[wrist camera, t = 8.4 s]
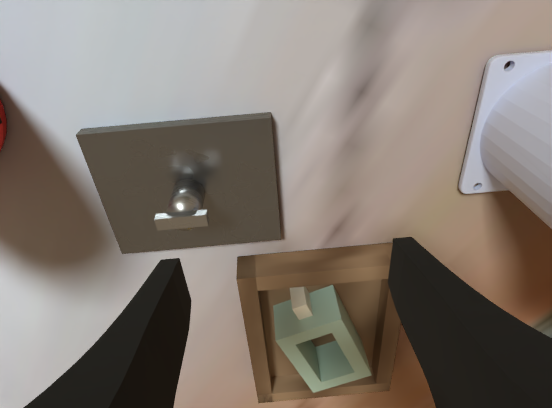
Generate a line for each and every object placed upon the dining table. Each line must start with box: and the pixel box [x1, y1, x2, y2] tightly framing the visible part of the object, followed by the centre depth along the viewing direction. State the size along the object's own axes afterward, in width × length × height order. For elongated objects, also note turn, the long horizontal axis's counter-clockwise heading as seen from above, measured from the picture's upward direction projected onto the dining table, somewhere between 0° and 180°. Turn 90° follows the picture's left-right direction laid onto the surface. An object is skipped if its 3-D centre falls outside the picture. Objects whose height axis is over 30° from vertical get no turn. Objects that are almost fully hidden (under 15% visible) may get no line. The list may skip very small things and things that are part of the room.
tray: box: [237, 243, 401, 403], centre depth 29 cm, size 11×14×2 cm
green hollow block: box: [273, 285, 372, 393], centre depth 27 cm, size 8×5×3 cm, turn 24°
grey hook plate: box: [76, 112, 281, 254], centre depth 21 cm, size 10×8×4 cm
